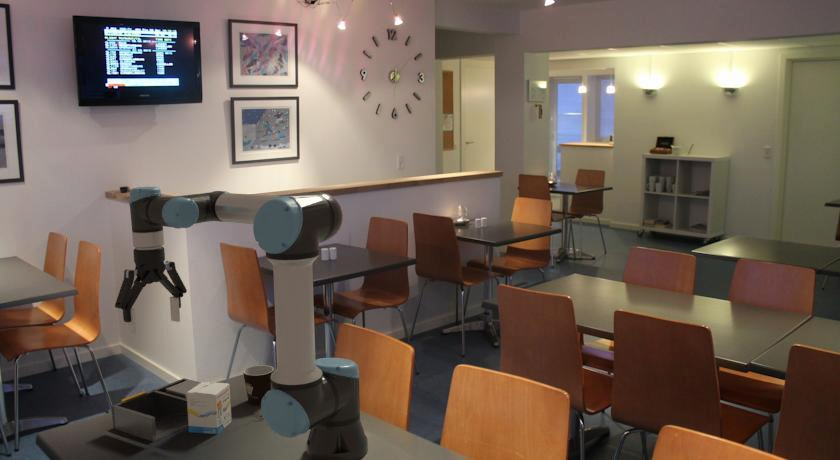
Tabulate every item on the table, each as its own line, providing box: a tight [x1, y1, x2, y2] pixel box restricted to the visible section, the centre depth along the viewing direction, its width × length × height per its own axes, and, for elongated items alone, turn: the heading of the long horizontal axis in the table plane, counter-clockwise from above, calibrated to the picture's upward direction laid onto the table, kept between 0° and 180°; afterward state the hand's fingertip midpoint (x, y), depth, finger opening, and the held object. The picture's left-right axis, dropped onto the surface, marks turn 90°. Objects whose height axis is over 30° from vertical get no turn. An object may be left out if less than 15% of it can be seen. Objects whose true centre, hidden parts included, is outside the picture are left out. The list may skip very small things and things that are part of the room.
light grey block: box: [166, 379, 200, 399], centre depth 205 cm, size 8×8×7 cm
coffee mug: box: [242, 364, 275, 406], centre depth 210 cm, size 12×9×10 cm
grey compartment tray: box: [111, 377, 202, 443], centre depth 200 cm, size 16×24×8 cm
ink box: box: [187, 381, 232, 435], centre depth 194 cm, size 9×8×12 cm
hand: (154, 327), depth 192 cm, fingers open, 13 cm apart
